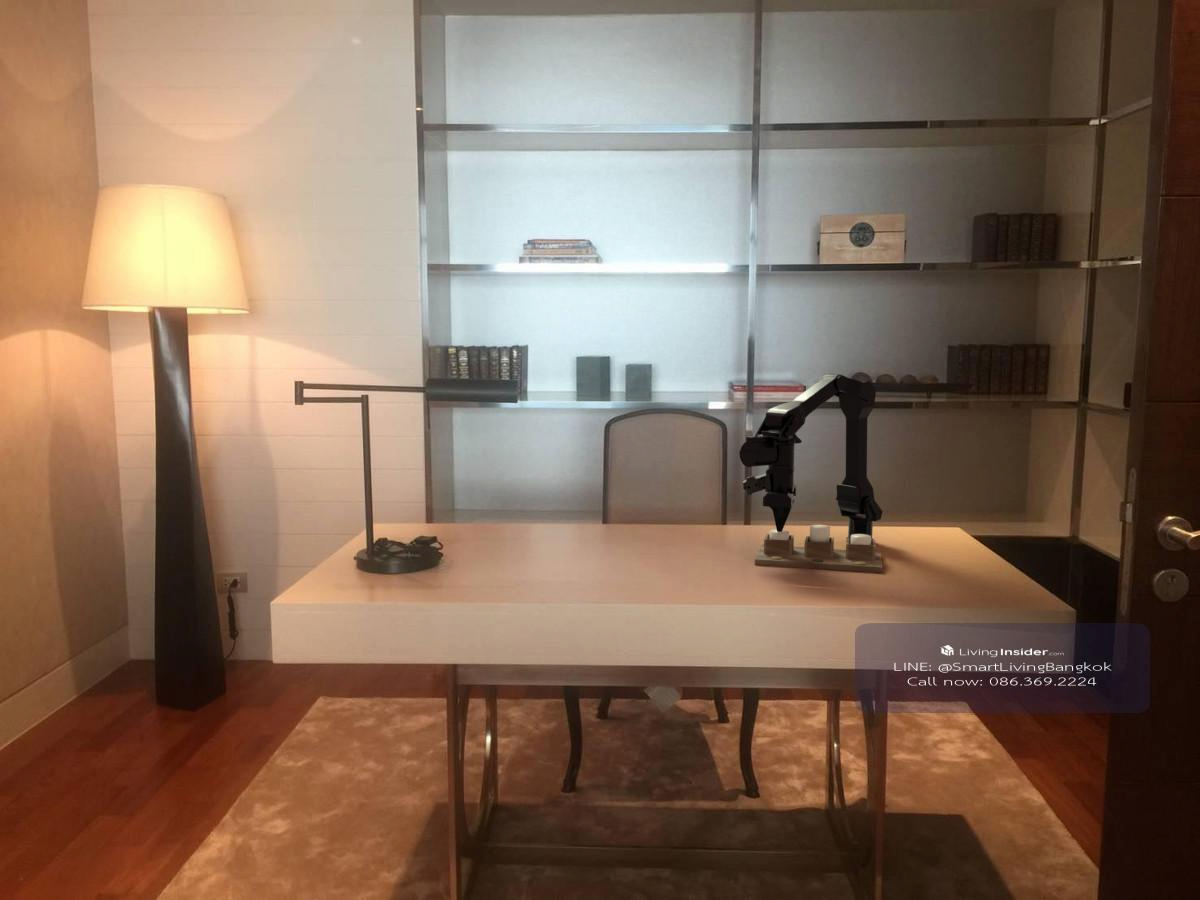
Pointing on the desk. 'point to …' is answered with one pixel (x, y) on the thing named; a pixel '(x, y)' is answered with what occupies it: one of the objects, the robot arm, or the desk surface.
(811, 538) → the button
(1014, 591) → the desk surface
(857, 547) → the board
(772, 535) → the button
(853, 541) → the button
